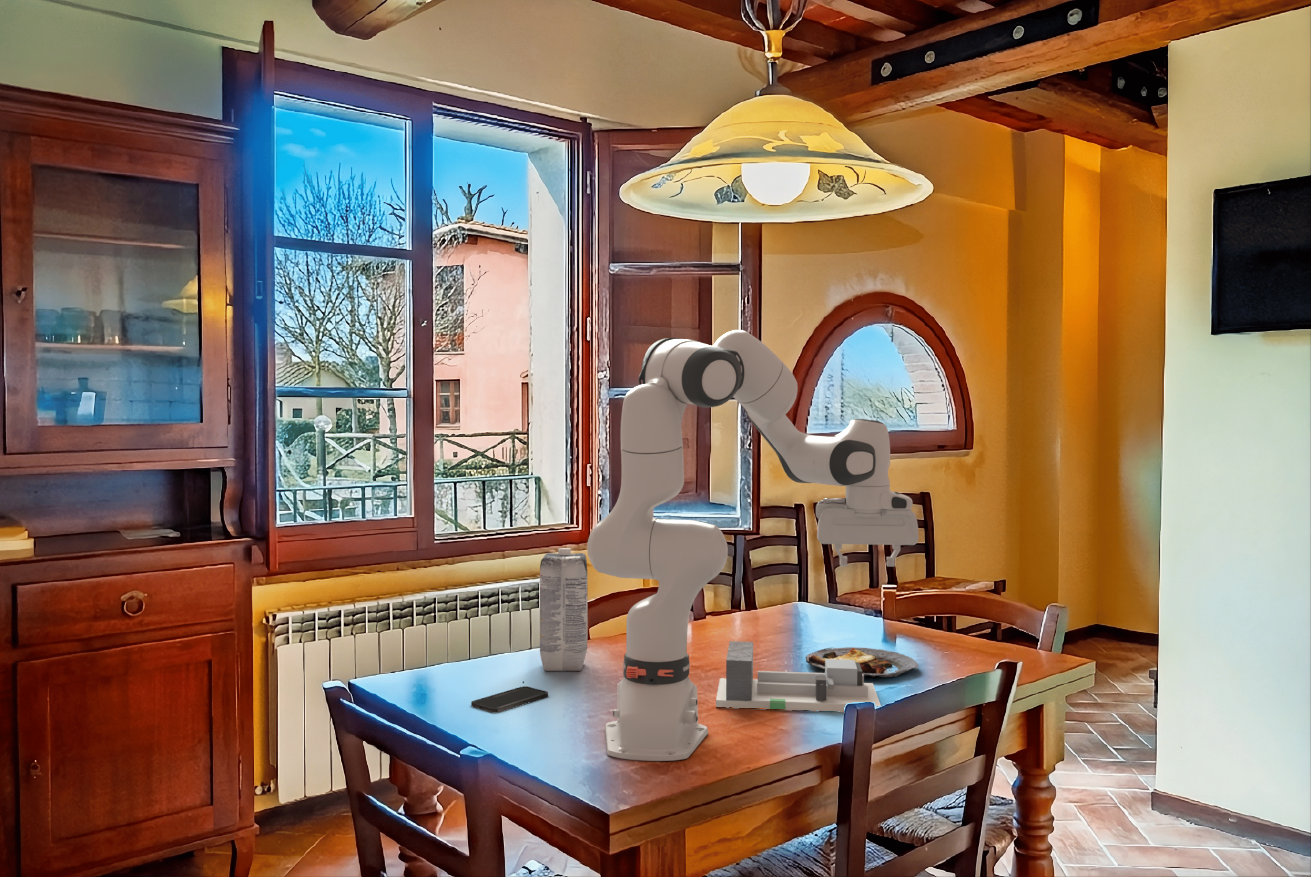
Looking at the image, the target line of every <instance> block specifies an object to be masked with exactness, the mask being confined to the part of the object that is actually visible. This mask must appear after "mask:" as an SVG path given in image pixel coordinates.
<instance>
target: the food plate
mask: <svg viewBox="0 0 1311 877" xmlns="http://www.w3.org/2000/svg"><path fill="white" fill-rule="evenodd" d="M825 659H836V660H855V663H860V666H861V669H862V674H863V675H864V676H867V677H872V678H873V677H874V678H875V677H876V676H878V677H879V678H892V677H894V678H896V677H897V676H900V675H901V674H903V673H906V672H908V671H910V670H912V669H918V668H919V666H920V665H919V663H918V662H917V661H916V660H915V658H912V657H910V656H908V655H905V654H903V653H900V652H896V651H892V650H891V651H890V650H886V649H881V648H880V649H876V648H869V647H856V646H853V647H848V646H847V647H846V646H845V647H832V648H831V647H827V648H824V649H819V650H816V651H813V652H810V653H808V654H807V655H806V656H805V663H808V664H809V665H810V666H813V667H815V668H818V669H822V670H825ZM893 667H894V668H895V669H894V671H893V669H891V668H893ZM889 668H890V669H889Z"/></svg>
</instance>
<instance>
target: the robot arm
mask: <svg viewBox="0 0 1311 877" xmlns="http://www.w3.org/2000/svg"><path fill="white" fill-rule="evenodd" d="M640 370H641V371H640V373H639V375H638V385H637V386H634V387H633V388H631V389H630V390H629V391H627V393H626V394H625V396H624V398H623V403H622V409H621V417H620V418H621V419H620V455H621V456H620V458H621V460H620V461H621V482H620V491H619V494H618V497H617V501H616V503H615V504H614V506H613V508H612V509H611V511H610V512H609V513H608V515H606V516H605V517H604V518H603V519H602V520H600V521H598V523H597V524H595V526H594V527H593V529H592V530H591V532H590V534H589V537H588V539H587V545H586V547H587V549H586V550H587V556H588V558H589V562H590V563H591V565H592V567H593V568H594V569H595V570H596V571H597V572H598V573H601V574H604V575H608V576H612V577H617V578H621V579H637V580H640V579H641V580H642V579H643V580H655V581H658V588H657V593H654V594H653V595H650V596H648V597H646V598H643V599H642V600H640V601H638V602H637V603H635V604H634V605H633V606H631V608H630V609H629V611H628V612H627V616H626V619H625V620H626V621H625V622H626V633H625V634H626V644H625V645H626V651H625V654H624V658H623V662H622V663H623V665H622V667H623V671H622V672H623V674H622V675H623V678H622V680H620V681H619V682H617V683H616V684H617V685H616V690H617V691H616V692H617V694H616V709H613V710H612V716H613V718H616V720H612V721H608V722H606V723H605V726H604V727H605V728H604V732H605V743H606V753H607V755H608V756H611V757H613V758H617V759H623V760H624V759H625V760H633V761H645V762H646V761H648V762H649V761H650V762H651V761H652V762H654V761H655V762H663V761H664V762H666V761H667V762H668V761H669V762H671V761H680V760H685V759H688V758H689V757H690V756H691V755H692V753H693V752H694V751H695V750H696V749H697V747H698V746H699V745H700V744H701V742H702V741H703V740H704V739H705V737H706V736H707V735H708V734H709V729H708V728H709V727H708V726H706V725H704V724H701V723H699V709H698V708H699V707H698V706H699V704H698V702H699V701H698V687H697V685H696V684H695V683H694V682H692V681H691V678H690V677H689V676H690V666H691V664H690V663H691V662H690V655H689V654H688V653H687V652H688V630H689V628H688V627H689V618H690V612H691V610H692V606H693V604H694V601H695V599H696V598H697V596H698V594H699V593H700V592H701V590H702V589H703V588H704V587H705V586H706V585H707V584H708V583H710V581H712V580H714V579H715V578H717V576H718V575H720V573H721V572H722V570H723V569H724V567H725V566H726V563H727V560H728V554H729V552H728V551H729V550H728V549H729V548H728V543H727V540H726V537H725V535H724V533H723V532H722V530H721V528H719V527H718V526H717V525H715V524H712V523H711V524H710V523H707V522H703V521H698V520H693V519H671V518H670V519H669V518H667V519H666V518H658V517H657V518H656V517H654V509H655V508H656V507H658V506H660V505H662V504H665V503H667V502H669V501H670V500H672V499H673V498H676V497H677V496H678V495H679V493H681V491H682V489H683V487H684V485H685V464H684V461H685V460H684V441H683V440H684V439H683V430H682V424H683V422H682V421H683V417H684V414H685V411H686V408H687V407H688V405H692V406H694V405H695V406H697V407H699V408H700V407H701V408H717V407H718V406H723V405H724V404H726V403H727V402H729V401H731V399H732V398H734V400H735V401H737V402H738V403H739V405H741V407H743V409H744V411H745V413H746V416H747V418H748V419H749V421H750V422H751V424H752V425H753V427H755V429H756V430H757V431H758V433H760V435H761V436H762V437H763V439H764V440H765V441H766V442H767V443H768V445H769V446H770V447H771V449H772V450H773V451H774V452H775V454H776V456H777V458H778V459H779V462H780V464H781V467H782V468H783V471H784V473H785V474H786V475H787V477H788V478H789V479H790V480H791V481H793V482H795V483H799V484H819V485H828V486H837V487H845V497H844V498H843V497H839V498H837V497H836V498H829V497H828V498H826V497H825V498H823V500H819V501H818V502H817V503H816V505H815V516H816V518H817V520H818V522H817V531H816V539H817V541H818V542H819V543H820V544H823V545H834V550H835V551H836V552H835V553H837V555H838V557H839V566H840V567H848V556H846V555H843V554H842V552H841V550H842V549H843V545H873V546H874V545H880V546H881V545H882V546H883V545H884V546H885V545H886V546H888V545H890V546H891V548H892V549H893V551H892V553H891V555H890V556H886V557H885V558H886V563H885V564H886V566H887V567H890V568H891V567H895V565H896V563H895V562H896V561H895V560H896V558H897V556H898V555H899V553H900V552H901V546H914V545H916V544H918V542H919V539H920V538H919V535H920V534H919V526H918V525H919V524H918V519H917V515H916V514H915V512H914V511H913V510H912V509H913V505H914V504H913V500H912V498H911V497H910V496H908V495H906V494H902V493H899V492H898V491H892V490H891V481H890V478H889V468H890V465H891V442H890V441H891V440H890V435H889V430H888V427H887V426H886V424H885V423H883V422H882V421H878V420H875V419H874V420H873V419H867V418H854V419H851V420H849V422H848V425H847V427H846V428H845V429H843V430H842V431H841V432H839V433H837V434H835V435H834V436H826V435H825V436H823V435H815V434H814V435H813V434H808V433H804V432H802V431H800V430H798V429H797V428H796V426H795V425H794V424H793V423H792V421H791V420H790V419H789V417H788V416H787V414H788V412H789V411H790V410H791V409H792V408H793V406H794V404H795V401H796V399H797V396H798V390H799V389H798V382H797V379H796V378H795V375H794V373H793V372H792V370H790V368H789V367H788V366H787V365H786V364H785V363H784V361H782V359H780V357H778V355H777V354H775V353H774V352H773V351H772V350H771V349H770V348H769V347H768V346H767V345H766V344H765V343H764V342H762V341H761V340H760V339H758V338H756V337H755V336H754V335H752V334H750V333H749V332H747V331H746V330H744V329H743V330H742V329H733V330H731V331H727V332H726V333H724V334H722V335H721V336H720V337H719V338H717V339H716V341H715V342H714V344H713V345H711V344H710V345H709V344H707V343H704V342H701V341H697V340H694V339H686V338H685V339H684V338H678V337H668V338H662V339H659V340H657V341H655V342H653V344H651V345H650V346H649V348H648V349H647V350H646V352H645V354H644V357H643V359H642V363H641V369H640Z"/></svg>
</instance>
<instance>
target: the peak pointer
mask: <svg viewBox="0 0 1311 877" xmlns="http://www.w3.org/2000/svg"><path fill="white" fill-rule="evenodd" d="M826 681H827V680H826V676H816V679H815V697H816V700H820V701H823V700H826Z"/></svg>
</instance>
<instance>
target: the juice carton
mask: <svg viewBox="0 0 1311 877" xmlns="http://www.w3.org/2000/svg"><path fill="white" fill-rule="evenodd" d="M571 549H572V548H570V547H569V548H567V547H566V548H564V547H562V548H558V549H557V553H553V552H547V553H545V554H544V556H543V557H542V559H541V560H540V563H539V564H540V565H539V567H540V569H539V655H540V660H541V664H542V668H543V671H545V672H546V671H547V672H561V671H562V672H567V671H568V672H580V671H582V669H583V666H584V662H585V660H586V654H587V651H588V562H587V556H586V554H585V553H583V552H578V553H571V552H572V551H571Z"/></svg>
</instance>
